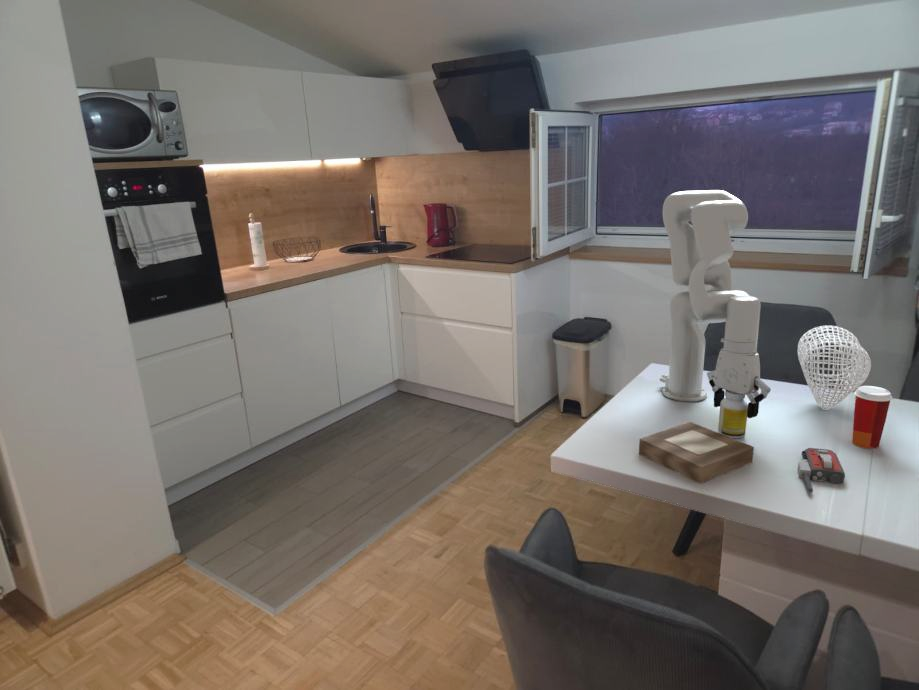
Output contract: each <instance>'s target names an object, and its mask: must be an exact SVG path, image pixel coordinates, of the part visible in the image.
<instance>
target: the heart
mask: <svg viewBox="0 0 919 690" xmlns="http://www.w3.org/2000/svg"><path fill="white" fill-rule="evenodd" d="M809 339H810V340H809ZM827 344H828V345H827ZM848 344H849V345H848ZM837 348H838V349H837ZM821 350H822V352H821ZM826 354H828V355H826ZM845 355H846V357H845ZM850 356H851V357H850ZM820 357H822V359H820ZM797 358H798V361H799V364H800V367H801V370H802V373H803V377H804V378H805V379H804V380H805V381H806V384H807V386H808V388H809V390H810V392H811V394H812V397H813V398H814V400H815V401H816V404H817V406H818V407H819V408H820V409H821V410H824V411H830V410H832V409H834V407H836V406H837V405H838V404H840V403H841V402H842V401H843V400H844V399H845V398H847V397H848V396H849V395H850V394H852V393H853V392H855V391H856V390H857V389H858V387H860V386H862V385H863V384H864V383H865V382H866V380H867V378H868V377H869V375H870V372H871V368H872V360H871V358H870V355H869V353H868V352H867V351H866V349H865V348H863V346H861V344H860V341H859V340H858V337H857V336H855V335H854V334H853V333H852V332H851V331H850V330H849V329H848V330H847V329H846V328H843V327H842V326H841V327H840V326H838V325H831V324H830V325H820V326H815V327H813V328H811V329H809V330H807V331H806V332H805V333H804V334H803V335H802V336H801V337H800V338H799V339H798V344H797ZM825 358H828V359H825ZM820 364H822V367H820ZM825 365H827V367H825ZM831 365H832V368H831ZM839 366H840V367H839ZM844 366H845V368H844ZM820 370H821V373H820ZM825 371H827V373H825ZM830 371H832V373H831V374H830ZM836 371H837V372H836ZM834 382H835V383H834Z"/></svg>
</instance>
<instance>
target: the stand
mask: <svg viewBox="0 0 919 690" xmlns="http://www.w3.org/2000/svg"><path fill="white" fill-rule="evenodd" d="M638 443H639V444H638V445H639V446H638V454H639V455H640V456H643V458H644V457H645V458H646V459H648V460H651V461H653V462H655V463H656V464H659V465H662V466H663V467H665V468H667V469H670V470H671V471H673V472H675V471H676V473H677V472H678V473H677V474H679V473H680V474H679V475H681V474H682V476H684V477H685V478H688V479H690V480H692V481H694V482H696V483H698V484H703V483H706V482H708V481H711V480H713V479H715V478H718V477H720V476H723V475H726V474H728V473H731V472H733V471H735V470H737V469H740V468H742V467H743V468H744V467H745V466H747V465H749V464H752V463H753V460H754V450H755V446H752V445H750V444H748V443H746V442H743V441H740V440H737V439H736V438H730V437H727V436H725V435H722V434H720V433H719V432H718V431H714V430H712V429H709V428H707V427H705V426H702V425H699V424H696V423H694V422H692V421H689V422H686V423H683V424H680V425H677V426H674V427H671V428H668V429H665V430H662V431H659V432H655V433H653V434H649V435H647V436H643V437H640V438H639V442H638Z"/></svg>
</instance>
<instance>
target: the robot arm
mask: <svg viewBox="0 0 919 690" xmlns="http://www.w3.org/2000/svg"><path fill="white" fill-rule="evenodd" d="M748 220H749V212H748V210H747V207H746V205H745V203H744V202H743V201H742V200H740V199H739V198H738V197H736V196H735V195H733V194H731V193H729V192H728V191H725V190H720V189H709V190H706V189H705V190H704V189H703V190H684V191H683V190H682V191H676V192H673V193H671V194H669V195H668V196H667V197H666V198H665V200H664V202H663V205H662V222H663V225H664V227H665V230H666V233H667V236H668V240H669V245H670V247H669V249H670V260H671V272H672V278H673V281H674V283H675V285H677V287H678V286H679V287H687V288H688V290H687V291H681V292H678V293H676V294H675V295H673V296H672V298H671V299H670V302H669V312H670V321H671V323H670V324H671V336H670V337H671V338H670V353H669V365H668V366H669V367H668V374H666V373H663V374H662V375H661V377H660V378H659V381H660V382H661V383H664V384H665V386H664V387H663V388H662V395H663V396H665V398H668V399H672V400H674V401H680V402H699V401H702V400H705V399H706V398H707V396H708V395H707V390H705V388H702V387H703V386H702V385H703V379H704V378H703V376H704V363H705V354H706V353H705V351H706V337H705V334H704V333H703V330H701V329H700V327H699V325H702V324H717V323H719V324H720V323H725V324H724V325H725V327H724V336H723V337H721V339H720V343H722V344H723V348H721V349H720V350H719V353H718V357H717V360H716V365H715V369H714V370H711V371H708V372H707V373H706V377H707V378H708V383H709V385H710V386H711V391H712V392H713V407H714V408H718V407H719V408H720V403H721V401H722V400H723V399H725V391H726V390H728V391H732V392H735V393H738V394H742V395H745V396H747V398H748V399H749V401H750V402H747V404H748V411H747V419H752V418H756V417H757V416H758V415H759V409H760V402H762V401H763V400H765V399H766V398H767V397H768V395H769V394H770V392H771V387H770V386H769V385H767V384H766V383H765V382H764V381H762V379H761V363H760V355H759V353H758V342H759V341H758V340H759V327H760V317H761V307H762V306H761V301H760V299H759V298H758V297H756V296H752V295H750V294H749V293H747V292H746V291H743V290H733V280H732V271H731V270H732V269H731V266H730V262H729V260H730V259H731V258H732V257H733V255H734V246H733V243H732V238H731V236H730V233H733V232H734V233H737V232H741V231H742V230H744V229H745V228H746V227H747V224H748ZM689 222H691V224H690V223H689ZM706 287H709V289H708V290H707V289H706ZM759 389H760V393H759Z"/></svg>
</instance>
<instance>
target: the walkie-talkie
mask: <svg viewBox="0 0 919 690" xmlns="http://www.w3.org/2000/svg"><path fill="white" fill-rule="evenodd" d="M801 457H802V460H800V461H798V464H797V472H798V477H799V478H802V480H803V481H804V485H805V487H806V490H807V491H808V493H813V492H814V488H813V485H812V483H811V481H817V482H825V483H826V482H827V483H832V484H844V482H845V477H846V474H845V471H844V469H843V466H842V464H841V462H840V460H839V458H838V457H839V456H838V455H837V453H836V452H834V451H833V450H831V449H826V448H815V447H808V448H805V449H804V450H802V451H801Z"/></svg>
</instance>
